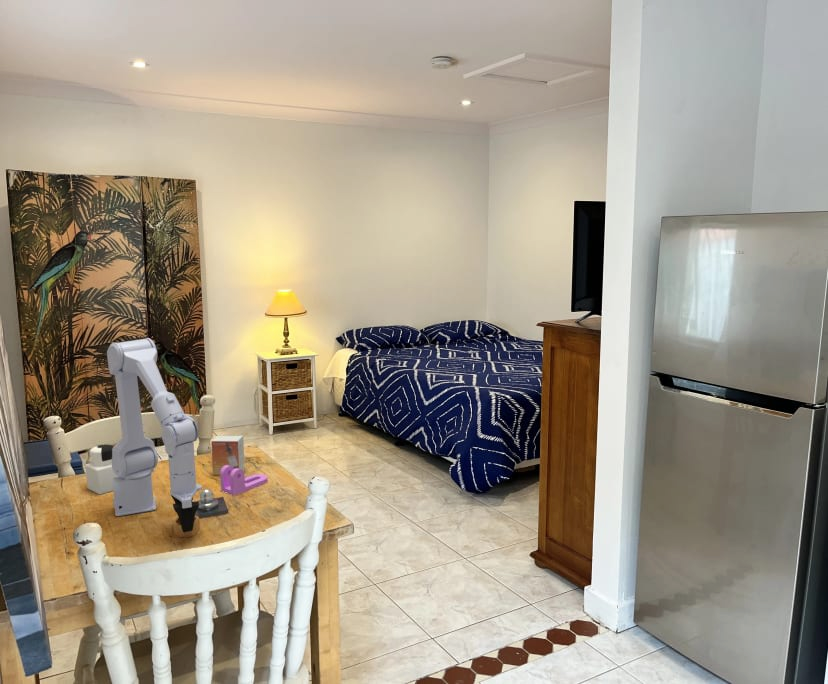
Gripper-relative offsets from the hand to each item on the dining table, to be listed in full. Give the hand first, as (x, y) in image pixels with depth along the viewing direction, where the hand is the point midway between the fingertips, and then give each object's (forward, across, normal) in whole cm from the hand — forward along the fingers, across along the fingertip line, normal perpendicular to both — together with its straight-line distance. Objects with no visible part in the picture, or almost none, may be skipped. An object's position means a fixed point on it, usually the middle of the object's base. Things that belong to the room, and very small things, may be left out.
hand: (186, 525), depth 159 cm
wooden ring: (+2, 0, 0) cm, 2 cm away
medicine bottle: (+2, +38, +18) cm, 42 cm away
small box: (+2, +36, -15) cm, 39 cm away
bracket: (+2, +23, -18) cm, 29 cm away
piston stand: (+2, +11, -6) cm, 13 cm away
